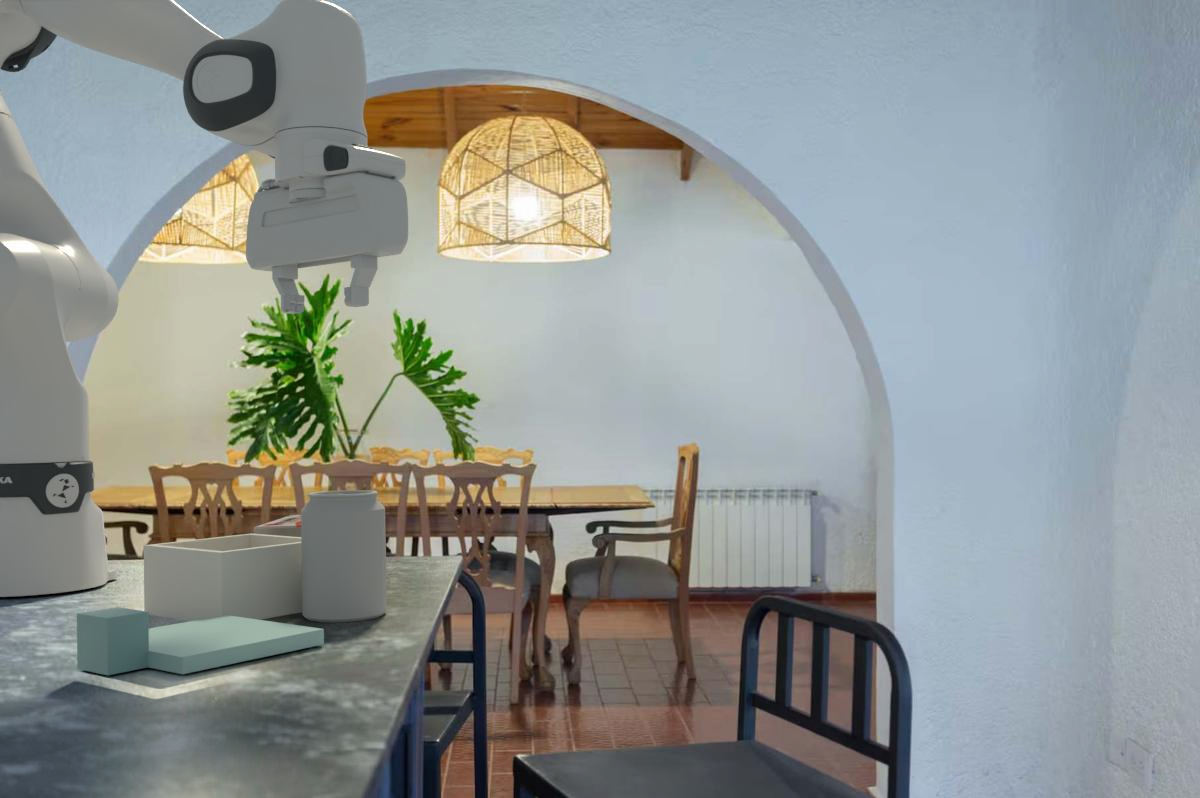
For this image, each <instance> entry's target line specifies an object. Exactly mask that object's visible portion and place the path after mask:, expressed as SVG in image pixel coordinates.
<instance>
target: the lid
mask: <svg viewBox="0 0 1200 798" xmlns="http://www.w3.org/2000/svg"><path fill="white" fill-rule="evenodd" d="M76 644H77V646H76V647H77V649H76V653H77V655H76V656H77V660H76V661H77V662H76V663H77V665H76V666H77V670H81V671H84V672H90V673H94V674H95V673H96V674H100V675H105V676H111V675H117V674H122V673H127V672H131V671H136V670H141V669H146V668H150V669H155V670H158V671H159V670H160V671H164V672H168V673H169V672H170V673H175V674H179V675H185V674H191V673H195V672H201V671H204V670H209V669H214V668H219V667H222V666H223V667H224V666H229V665H233V664H237V663H242V662H247V661H252V660H256V659H257V660H258V659H262V658H265V657H271V656H275V655H280V654H285V653H289V652H294V651H295V652H296V651H298V650H303V649H307V648H313V647H317V646H322V645H325V629H324V628H319V627H312V626H306V625H298V624H291V623H284V622H277V621H270V620H266V619H262V620H258V619H251V618H244V617H237V616H230V615H224V616H218V617H212V618H207V619H201V620H195V621H184V622H178V623H172V624H167V625H161V626H160V625H159V626H157V627H156V626H155V627H151V628H149V615H148V612H146V611H144V610H138V609H133V608H126V607H119V606H117V607H112V608H105V609H103V608H102V609H97V610H91V611H90V610H89V611H85V612H77V613H76Z"/></svg>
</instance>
